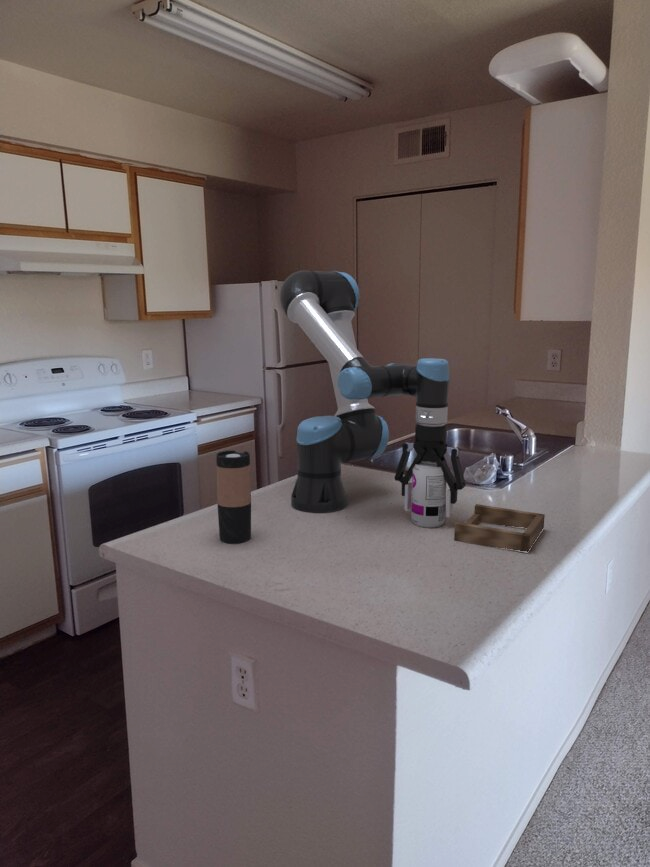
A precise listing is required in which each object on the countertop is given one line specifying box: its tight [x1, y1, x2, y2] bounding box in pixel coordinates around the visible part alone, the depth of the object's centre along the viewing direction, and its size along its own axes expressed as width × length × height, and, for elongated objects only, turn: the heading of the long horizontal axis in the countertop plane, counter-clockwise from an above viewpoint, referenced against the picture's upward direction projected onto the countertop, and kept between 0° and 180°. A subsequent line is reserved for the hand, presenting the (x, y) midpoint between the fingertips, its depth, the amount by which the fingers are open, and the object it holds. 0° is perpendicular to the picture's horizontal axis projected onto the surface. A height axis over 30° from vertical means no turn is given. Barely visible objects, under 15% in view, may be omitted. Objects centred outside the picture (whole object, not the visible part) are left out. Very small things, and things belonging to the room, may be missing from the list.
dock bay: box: [453, 503, 546, 552], centre depth 151 cm, size 16×17×4 cm
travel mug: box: [215, 449, 252, 545], centre depth 147 cm, size 8×8×20 cm
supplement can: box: [410, 461, 447, 529], centre depth 158 cm, size 8×8×15 cm
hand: (428, 512), depth 159 cm, fingers open, 10 cm apart
